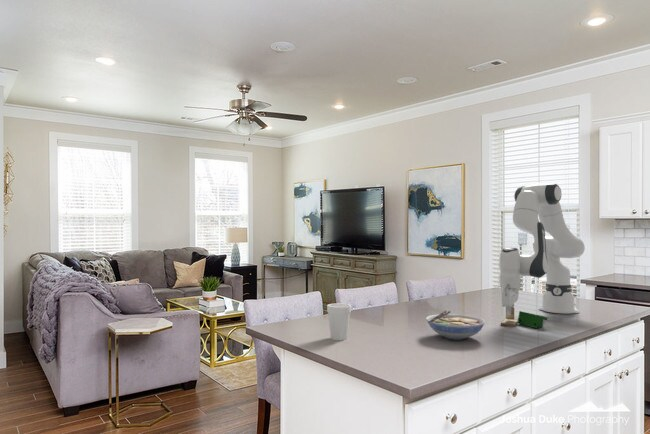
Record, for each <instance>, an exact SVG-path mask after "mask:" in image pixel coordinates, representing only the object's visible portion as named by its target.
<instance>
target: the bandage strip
mask: <svg viewBox="0 0 650 434" xmlns="http://www.w3.org/2000/svg"><path fill="white" fill-rule="evenodd" d="M518 324H519V323H518V318H514V319H513V320H510V319H506V317H505V318H504V319H503V320H502V321H501V322H500V326H501V327H509V328H510V327H511V328H516V327H517V326H518Z"/></svg>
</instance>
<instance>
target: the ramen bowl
mask: <svg viewBox="0 0 650 434" xmlns="http://www.w3.org/2000/svg"><path fill="white" fill-rule="evenodd" d="M425 319H426V322H427V324H428V325H429V327H430V328H431V329H432V330H433V331H434V332H435V333H436V334H437V335H440V336H442V337H445V338H446V339H448V340H452V341H453V340H455V341H463V340H465V339H467V338H470V337H473V336H475V335H477V334H478V333H479V332H480V331H481V330H482V329H483V327H484V325H485V323H486V320H485V319H483V318H481V317H477V316H473V315H467V314H458V313H457V314H456V313H451V310H448V311H447V310H443V311H442V312H441V313H438V314H431V315H428V316H426V318H425Z"/></svg>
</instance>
